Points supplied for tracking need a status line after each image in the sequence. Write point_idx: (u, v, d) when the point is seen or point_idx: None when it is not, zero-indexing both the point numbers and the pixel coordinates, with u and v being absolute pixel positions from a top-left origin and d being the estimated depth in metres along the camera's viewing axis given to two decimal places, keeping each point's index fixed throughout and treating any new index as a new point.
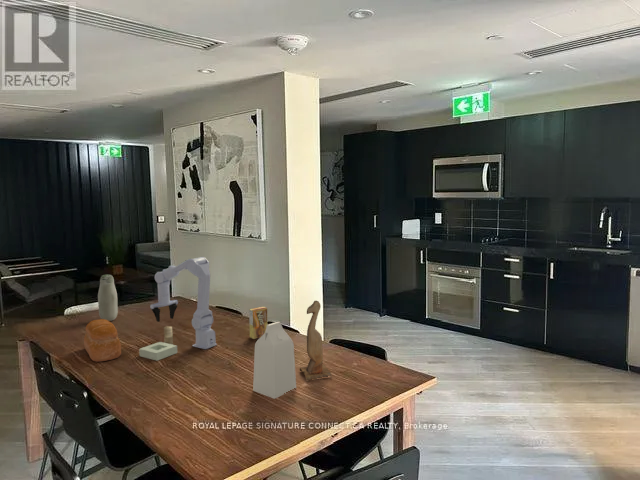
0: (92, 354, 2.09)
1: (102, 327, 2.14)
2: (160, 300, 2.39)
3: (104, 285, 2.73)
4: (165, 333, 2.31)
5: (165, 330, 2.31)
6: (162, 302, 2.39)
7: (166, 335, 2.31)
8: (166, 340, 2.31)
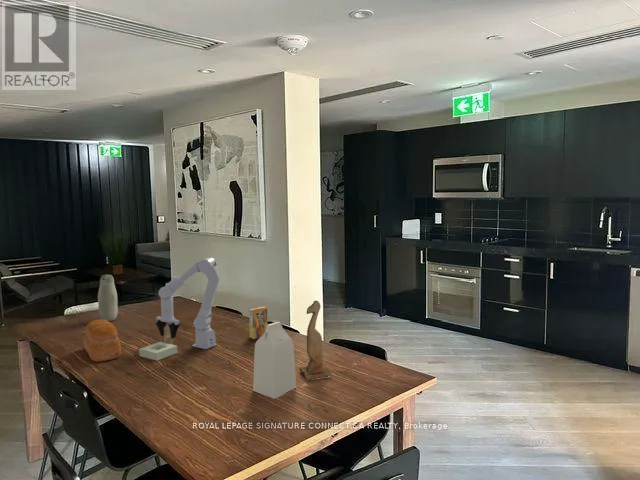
0: (92, 354, 2.09)
1: (102, 327, 2.14)
2: None
3: (104, 285, 2.73)
4: (165, 333, 2.31)
5: (165, 330, 2.31)
6: None
7: (166, 335, 2.31)
8: (166, 340, 2.31)
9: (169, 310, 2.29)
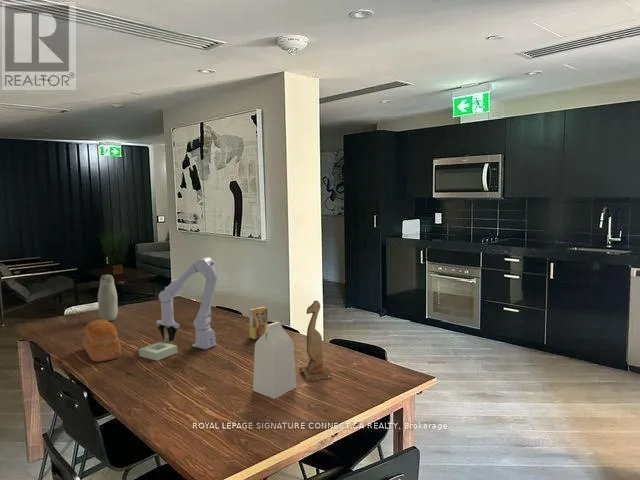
0: (92, 354, 2.09)
1: (102, 327, 2.14)
2: None
3: (104, 285, 2.73)
4: (165, 333, 2.31)
5: (165, 330, 2.31)
6: (161, 321, 2.31)
7: (166, 335, 2.31)
8: (166, 340, 2.31)
9: (169, 314, 2.29)
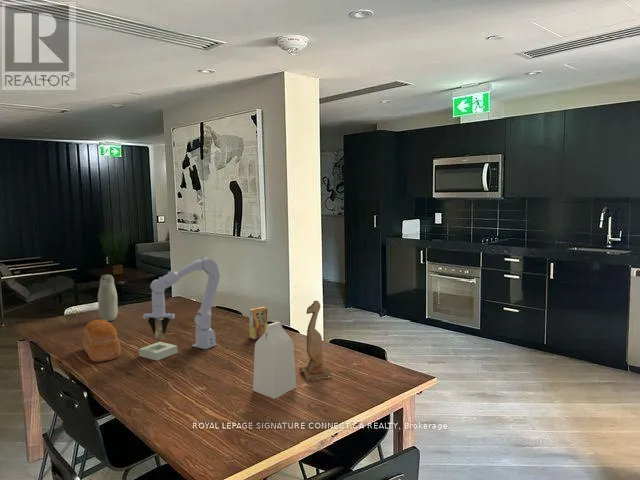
0: (91, 354, 2.09)
1: (101, 327, 2.13)
2: (152, 311, 2.19)
3: (104, 285, 2.73)
4: (158, 325, 2.19)
5: (158, 322, 2.19)
6: (153, 313, 2.18)
7: (159, 327, 2.19)
8: (160, 333, 2.19)
9: (163, 304, 2.19)
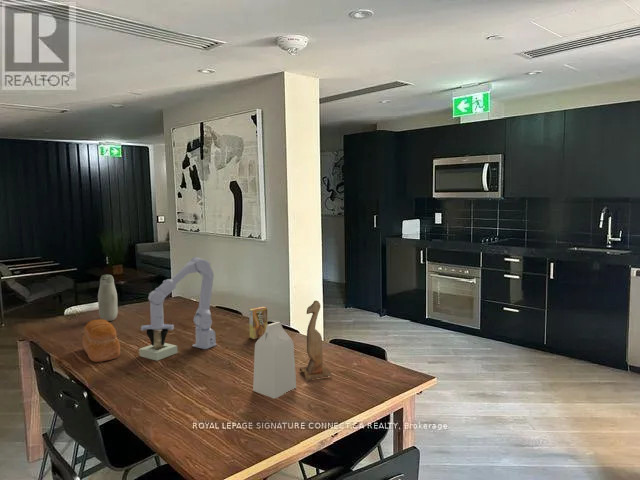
0: (91, 354, 2.09)
1: (101, 327, 2.13)
2: None
3: (104, 285, 2.73)
4: (157, 337, 2.17)
5: (157, 334, 2.17)
6: (151, 325, 2.16)
7: (158, 339, 2.17)
8: (159, 344, 2.17)
9: (162, 316, 2.17)
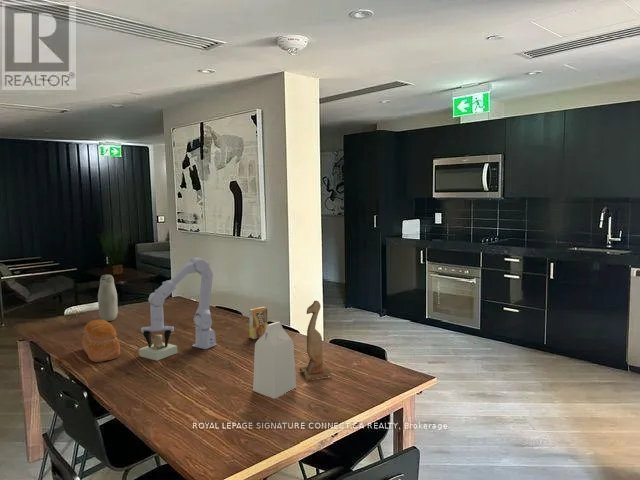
0: (91, 354, 2.09)
1: (101, 327, 2.13)
2: (151, 324, 2.17)
3: (104, 285, 2.73)
4: (157, 342, 2.17)
5: (157, 339, 2.16)
6: (151, 327, 2.16)
7: (158, 344, 2.17)
8: None
9: (162, 317, 2.17)
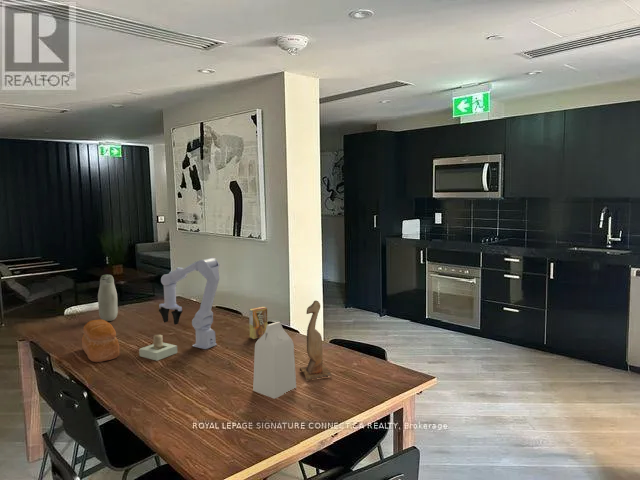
0: (90, 354, 2.09)
1: (100, 327, 2.13)
2: None
3: (104, 285, 2.73)
4: (157, 342, 2.17)
5: (157, 339, 2.17)
6: (164, 304, 2.37)
7: (159, 344, 2.17)
8: None
9: (170, 297, 2.34)
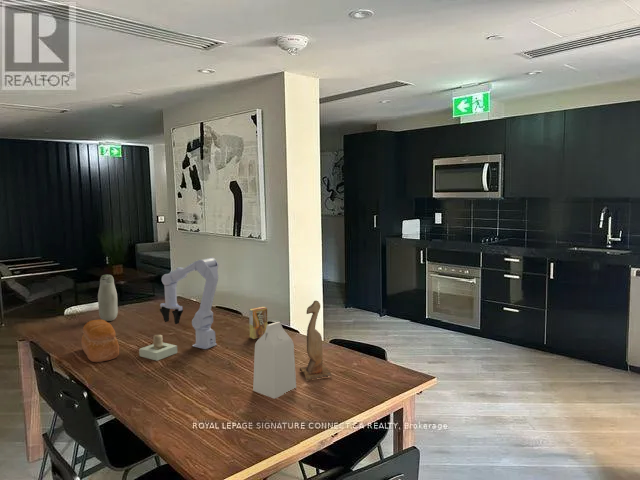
0: (90, 354, 2.09)
1: (100, 327, 2.13)
2: None
3: (104, 285, 2.73)
4: (157, 342, 2.17)
5: (157, 339, 2.17)
6: (165, 304, 2.38)
7: (159, 344, 2.17)
8: None
9: (170, 297, 2.35)
